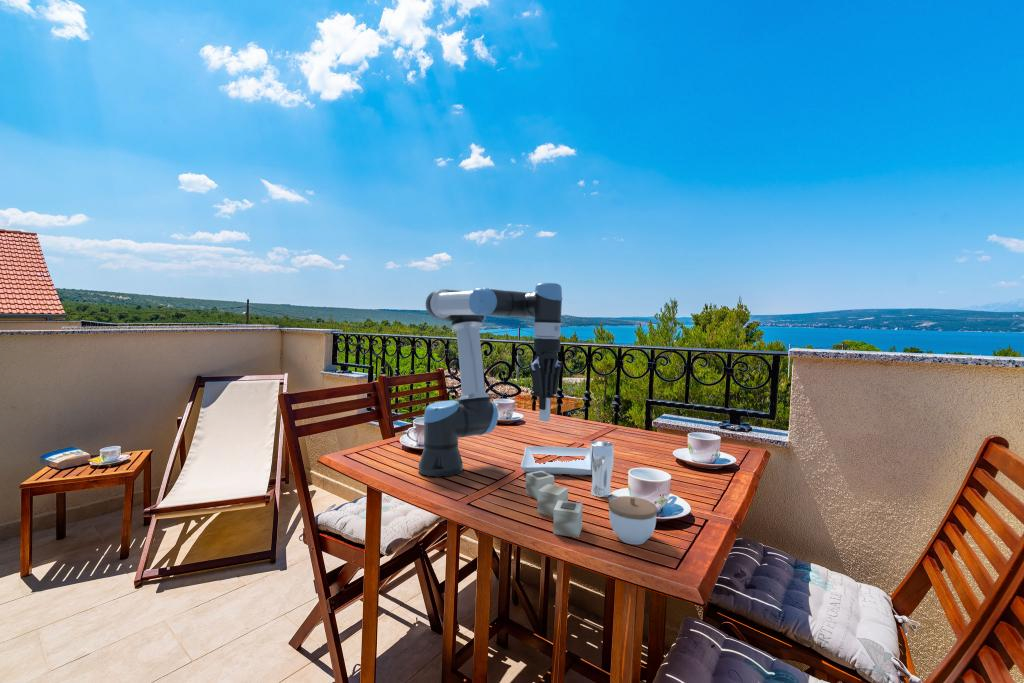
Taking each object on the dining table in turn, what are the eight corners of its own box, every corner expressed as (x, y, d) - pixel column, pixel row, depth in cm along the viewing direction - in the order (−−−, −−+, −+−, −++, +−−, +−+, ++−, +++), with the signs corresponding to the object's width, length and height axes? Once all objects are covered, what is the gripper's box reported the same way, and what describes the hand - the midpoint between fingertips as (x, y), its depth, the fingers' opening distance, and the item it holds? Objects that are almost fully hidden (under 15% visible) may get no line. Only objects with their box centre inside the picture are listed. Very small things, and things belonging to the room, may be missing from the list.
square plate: (593, 457, 160) (594, 447, 160) (602, 481, 133) (602, 469, 133) (525, 454, 163) (525, 444, 163) (519, 477, 136) (520, 465, 136)
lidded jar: (648, 528, 99) (649, 489, 99) (663, 551, 88) (663, 508, 88) (604, 526, 100) (604, 488, 100) (613, 549, 89) (614, 506, 89)
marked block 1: (525, 493, 121) (525, 473, 121) (541, 489, 124) (542, 469, 124) (537, 500, 116) (537, 479, 116) (553, 496, 119) (554, 475, 119)
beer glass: (595, 499, 117) (596, 447, 117) (585, 490, 123) (585, 441, 123) (617, 497, 118) (618, 445, 118) (605, 488, 125) (606, 440, 125)
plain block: (537, 513, 107) (537, 490, 107) (547, 505, 112) (548, 483, 112) (557, 518, 104) (558, 495, 104) (567, 510, 109) (568, 488, 109)
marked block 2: (553, 534, 96) (553, 508, 96) (557, 523, 101) (558, 499, 101) (578, 538, 94) (579, 512, 94) (582, 526, 100) (582, 502, 100)
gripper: (543, 338, 108) (540, 426, 109) (571, 338, 118) (568, 419, 118) (522, 337, 113) (519, 421, 114) (550, 337, 123) (548, 415, 123)
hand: (544, 420), depth 116 cm, fingers closed
